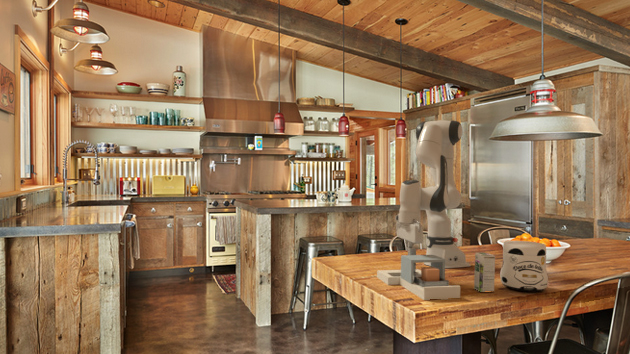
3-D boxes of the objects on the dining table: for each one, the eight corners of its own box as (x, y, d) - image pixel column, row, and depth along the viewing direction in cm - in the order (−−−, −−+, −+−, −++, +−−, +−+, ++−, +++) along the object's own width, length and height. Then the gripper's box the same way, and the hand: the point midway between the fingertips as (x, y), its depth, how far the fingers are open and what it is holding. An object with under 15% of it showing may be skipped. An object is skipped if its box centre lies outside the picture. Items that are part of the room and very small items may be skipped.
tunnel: (432, 276, 181) (433, 254, 181) (444, 282, 171) (445, 259, 171) (400, 277, 178) (401, 255, 178) (410, 283, 168) (411, 260, 168)
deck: (418, 276, 195) (418, 265, 195) (460, 298, 160) (460, 286, 160) (377, 277, 191) (377, 266, 191) (410, 300, 156) (411, 288, 156)
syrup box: (473, 289, 174) (474, 252, 174) (487, 289, 174) (488, 252, 174) (480, 293, 168) (480, 254, 168) (495, 292, 169) (495, 255, 169)
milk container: (527, 296, 164) (528, 248, 164) (490, 285, 180) (491, 241, 180) (558, 292, 172) (559, 245, 172) (520, 281, 187) (521, 239, 187)
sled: (421, 272, 187) (421, 247, 187) (448, 286, 164) (449, 257, 164) (399, 273, 185) (399, 247, 185) (423, 287, 162) (424, 258, 162)
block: (433, 282, 171) (433, 267, 171) (439, 285, 166) (439, 269, 166) (421, 282, 170) (421, 267, 170) (426, 286, 165) (427, 270, 165)
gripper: (427, 221, 178) (426, 255, 178) (407, 216, 198) (406, 246, 198) (412, 221, 176) (412, 255, 177) (393, 216, 196) (393, 247, 197)
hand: (409, 250), depth 187 cm, fingers closed
